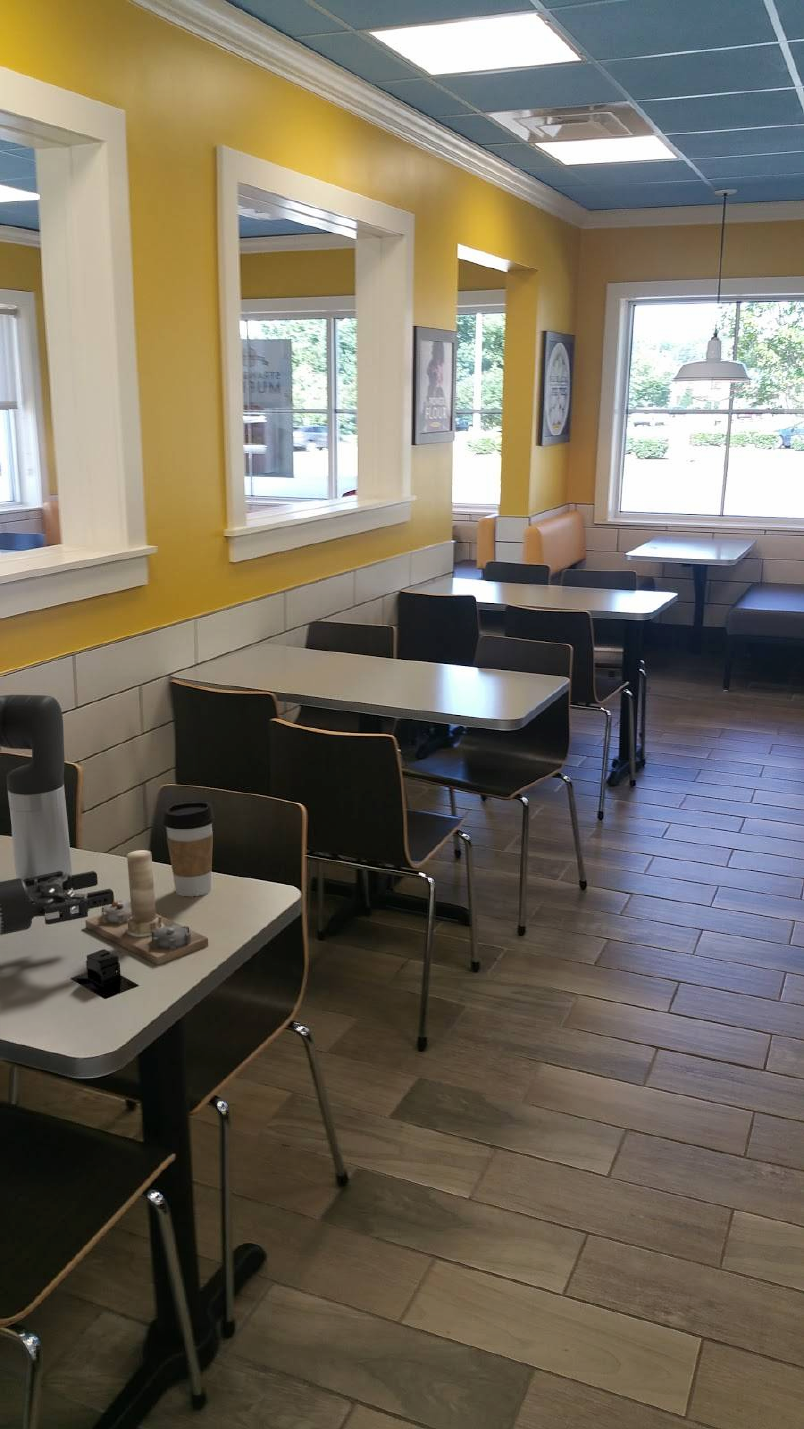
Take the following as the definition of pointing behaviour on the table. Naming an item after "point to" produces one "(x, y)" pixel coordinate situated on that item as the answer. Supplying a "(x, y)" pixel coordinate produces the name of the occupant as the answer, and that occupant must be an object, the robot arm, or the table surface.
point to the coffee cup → (190, 846)
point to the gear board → (151, 946)
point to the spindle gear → (142, 893)
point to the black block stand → (104, 975)
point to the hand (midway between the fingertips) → (104, 886)
